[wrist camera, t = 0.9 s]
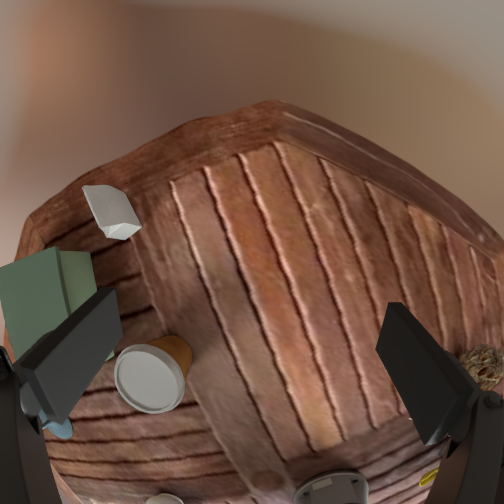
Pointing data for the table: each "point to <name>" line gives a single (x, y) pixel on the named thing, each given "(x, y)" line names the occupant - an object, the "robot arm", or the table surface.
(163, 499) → the flower vase
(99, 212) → the white gable carton
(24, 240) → the table surface
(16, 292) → the green lidded box
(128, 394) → the disposable coffee cup
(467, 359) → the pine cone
